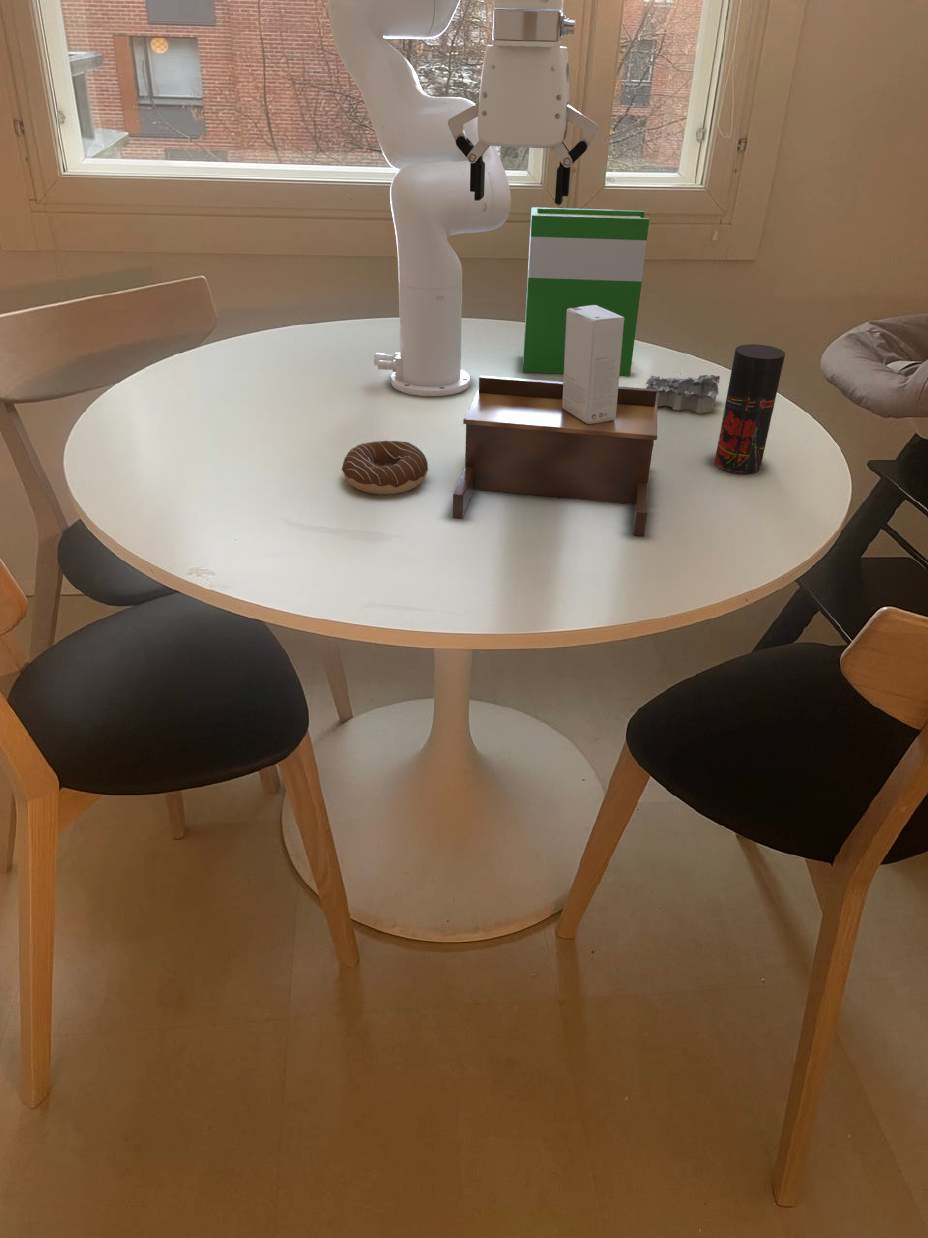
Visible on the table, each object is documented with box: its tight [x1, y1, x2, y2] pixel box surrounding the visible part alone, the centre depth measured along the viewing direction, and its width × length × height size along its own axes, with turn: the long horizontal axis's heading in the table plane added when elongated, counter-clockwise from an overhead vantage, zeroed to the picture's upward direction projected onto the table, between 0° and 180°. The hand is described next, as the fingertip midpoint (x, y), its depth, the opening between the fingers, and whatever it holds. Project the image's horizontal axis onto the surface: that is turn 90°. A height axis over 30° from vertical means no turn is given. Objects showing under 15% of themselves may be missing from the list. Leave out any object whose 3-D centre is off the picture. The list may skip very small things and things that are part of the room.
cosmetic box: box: [562, 305, 624, 424], centre depth 105 cm, size 6×4×12 cm
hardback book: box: [522, 206, 650, 377], centre depth 145 cm, size 18×7×24 cm, turn 87°
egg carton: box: [645, 374, 721, 414], centre depth 137 cm, size 11×8×4 cm
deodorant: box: [714, 343, 786, 475], centre depth 115 cm, size 6×6×15 cm
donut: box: [341, 440, 429, 495], centre depth 111 cm, size 11×11×4 cm
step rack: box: [452, 375, 658, 537], centre depth 108 cm, size 23×18×11 cm
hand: (518, 200), depth 108 cm, fingers open, 9 cm apart
